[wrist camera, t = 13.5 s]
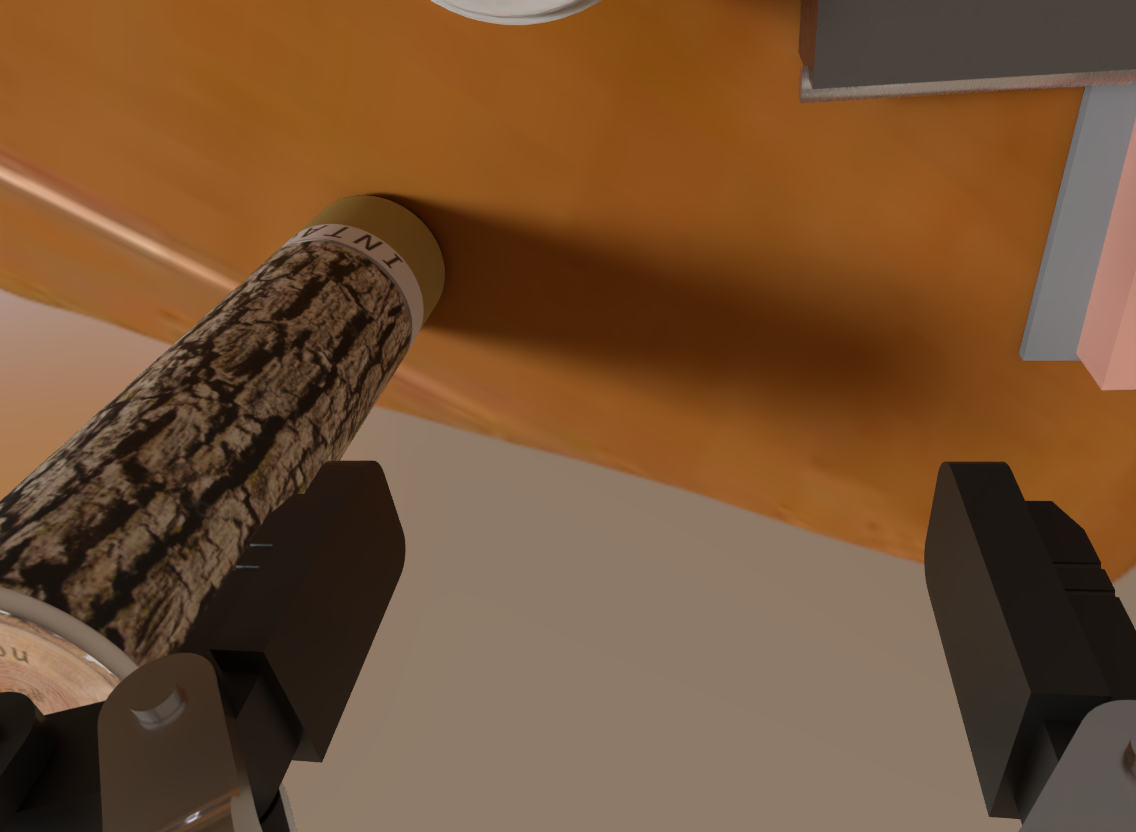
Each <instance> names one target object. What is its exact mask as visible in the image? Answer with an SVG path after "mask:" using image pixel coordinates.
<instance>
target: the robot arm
mask: <svg viewBox="0 0 1136 832" xmlns="http://www.w3.org/2000/svg"><path fill="white" fill-rule="evenodd" d="M404 561H405V537H404V533H403V529H402V526H401V523H400V520H399V517H398V514H397V511H396V508H395V505H394V502H393V499H392V496H391V493H390V490H389V487H388V484H387V481H386V478H385V475H384V472H383V469H382V468H381V466H380V464H379V463H378V462H376V461H327V462H325V463H324V464H323V465H322V466H321V467H320V469H319V471H318V472H317V474H316V475H315V477H314V479H313V480H312V482H311V484H310V485H309V487H308V488H307V490H306V492H305V493H304V494H293V495H292V496H291V497H289V498H288V499H287V500H286V501H285V502H284V503H282V504H281V505H280V506H279V507H278V508H276V509H275V510H274V511H273V512H272V513H271V514H269V515H268V516H267V517H266V519H265V520H264V522H263V523H262V525H261V526H260V528H259V529H258V531H257V532H256V534H255V536H254V537H253V539H252V540H251V542H250V548H246V549H245V551H244V552H243V554H242V556H241V557H240V559H239V560H238V562H237V563H236V569H235V570H232V571H231V573H230V574H229V576H228V577H227V579H226V580H225V582H224V583H223V585H222V586H221V588H220V590H219V591H218V593H217V594H216V596H215V597H214V599H213V600H212V602H211V603H210V605H209V607H208V608H207V610H206V611H205V613H204V614H203V616H202V617H201V619H200V620H199V622H198V623H197V625H196V627H195V628H194V630H193V631H192V633H191V634H190V636H189V637H188V639H187V640H186V642H185V644H184V645H183V647H182V648H181V650H180V651H179V652H178V653H176V654H170V655H166V656H162V657H160V658H157V659H155V660H152V661H150V662H148V663H146V664H144V665H142V666H141V667H139V668H138V669H136V670H135V671H133V672H132V673H131V674H129V675H128V676H127V677H126V678H124V679H123V680H122V681H121V682H120V683H119V684H118V685H117V686H116V687H115V688H114V690H113V691H112V692H111V693H110V695H109V696H108V698H107V699H106V700H105V701H101V702H97V703H93V704H89V705H85V706H80V707H76V708H72V709H68V710H64V711H59V712H55V713H51V714H47V715H43V713H42V712H41V711H40V710H39V709H38V707H37V706H36V705H35V704H34V703H33V701H32V700H31V699H30V698H29V697H27V696H26V695H25V694H22V693H18V692H0V832H297V829H296V825H295V822H294V818H293V814H292V810H291V807H290V803H289V799H288V795H287V792H286V789H285V787H284V785H283V783H282V780H283V778H284V775H285V773H286V771H287V769H288V767H289V764H290V762H291V760H297V761H310V762H322V761H323V759H324V756H325V754H326V752H327V749H328V747H329V744H330V742H331V740H332V737H333V735H334V733H335V730H336V728H337V725H338V723H339V721H340V718H341V716H342V713H343V711H344V709H345V706H346V704H347V701H348V699H349V697H350V695H351V692H352V690H353V687H354V685H355V683H356V680H357V678H358V676H359V673H360V671H361V668H362V666H363V664H364V661H365V659H366V657H367V654H368V652H369V649H370V647H371V645H372V642H373V640H374V637H375V635H376V633H377V630H378V628H379V626H380V623H381V621H382V619H383V616H384V614H385V611H386V609H387V606H388V604H389V602H390V599H391V597H392V595H393V592H394V590H395V588H396V585H397V583H398V581H399V578H400V576H401V573H402V570H403V566H404ZM924 564H925V577H926V584H927V588H928V592H929V596H930V600H931V604H932V607H933V611H934V615H935V619H936V622H937V626H938V629H939V633H940V637H941V641H942V645H943V648H944V652H945V656H946V659H947V663H948V667H949V670H950V674H951V678H952V682H953V685H954V689H955V693H956V696H957V700H958V704H959V707H960V711H961V714H962V719H963V722H964V726H965V730H966V733H967V737H968V741H969V745H970V748H971V752H972V756H973V759H974V763H975V767H976V770H977V774H978V778H979V782H980V785H981V789H982V793H983V796H984V800H985V804H986V807H987V811H988V815H989V817H999V818H1014V819H1021V822H1022V827H1021V829H1020V830H1019V832H1136V630H1135V628H1134V626H1133V624H1132V622H1131V620H1130V618H1129V616H1128V614H1127V612H1126V611H1125V608H1124V607H1123V605H1122V603H1121V601H1120V599H1119V597H1116V596H1115V589H1114V587H1113V585H1112V583H1111V581H1110V579H1109V577H1108V575H1107V573H1106V571H1105V569H1101V562H1100V560H1099V558H1098V556H1097V554H1096V552H1095V550H1094V548H1093V546H1092V544H1091V542H1090V540H1089V538H1088V536H1087V534H1086V532H1085V530H1084V529H1083V528H1082V527H1080V526H1079V525H1078V524H1077V523H1076V522H1075V521H1074V520H1073V519H1071V518H1070V517H1069V516H1068V515H1067V514H1066V513H1065V512H1063V511H1062V510H1061V509H1060V508H1059V507H1058V506H1057V505H1055V504H1054V503H1053V502H1052V501H1025V500H1024V498H1023V495H1022V493H1021V491H1020V489H1019V486H1018V484H1017V482H1016V480H1015V478H1014V475H1013V473H1012V471H1011V469H1010V467H1009V466H1008V464H1007V463H1005V462H943V463H942V464H941V466H940V469H939V472H938V477H937V482H936V488H935V493H934V499H933V504H932V509H931V515H930V520H929V526H928V531H927V537H926V543H925V554H924Z"/></svg>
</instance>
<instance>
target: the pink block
mask: <svg viewBox="0 0 1136 832" xmlns="http://www.w3.org/2000/svg"><path fill="white" fill-rule="evenodd" d="M1076 354H1077V355H1078V357H1079V358H1080V360H1081V361H1082V362H1083V364H1084V365H1085V367H1086V368H1087V370H1088V371H1089V372H1090V374H1091V375H1092V377H1093V378H1094V380H1095V381H1096V382H1097V384H1098V385H1099V387H1100V388H1101V390H1133V389H1136V119H1135V123H1134V127H1133V131H1132V135H1131V139H1130V143H1129V147H1128V151H1127V154H1126V158H1125V162H1124V166H1123V170H1122V174H1121V178H1120V182H1119V186H1118V190H1117V194H1116V198H1115V202H1114V206H1113V210H1112V214H1111V218H1110V222H1109V226H1108V230H1107V233H1106V237H1105V241H1104V245H1103V249H1102V253H1101V257H1100V261H1099V265H1098V269H1097V273H1096V277H1095V281H1094V285H1093V289H1092V293H1091V297H1090V301H1089V305H1088V308H1087V312H1086V316H1085V320H1084V324H1083V328H1082V332H1081V336H1080V340H1079V344H1078V348H1077V352H1076Z"/></svg>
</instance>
